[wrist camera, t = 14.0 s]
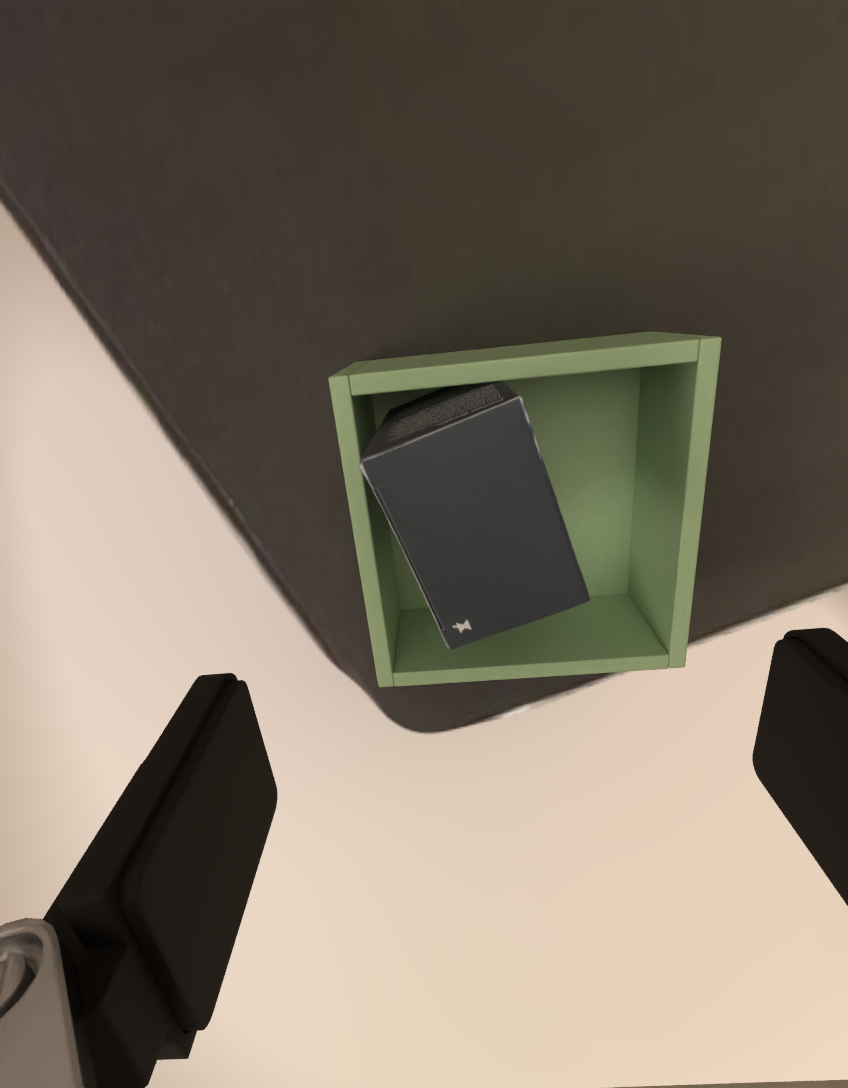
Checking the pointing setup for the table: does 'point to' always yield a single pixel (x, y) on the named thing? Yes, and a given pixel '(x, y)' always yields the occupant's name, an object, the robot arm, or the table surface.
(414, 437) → the box
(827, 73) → the table surface
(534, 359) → the bin
